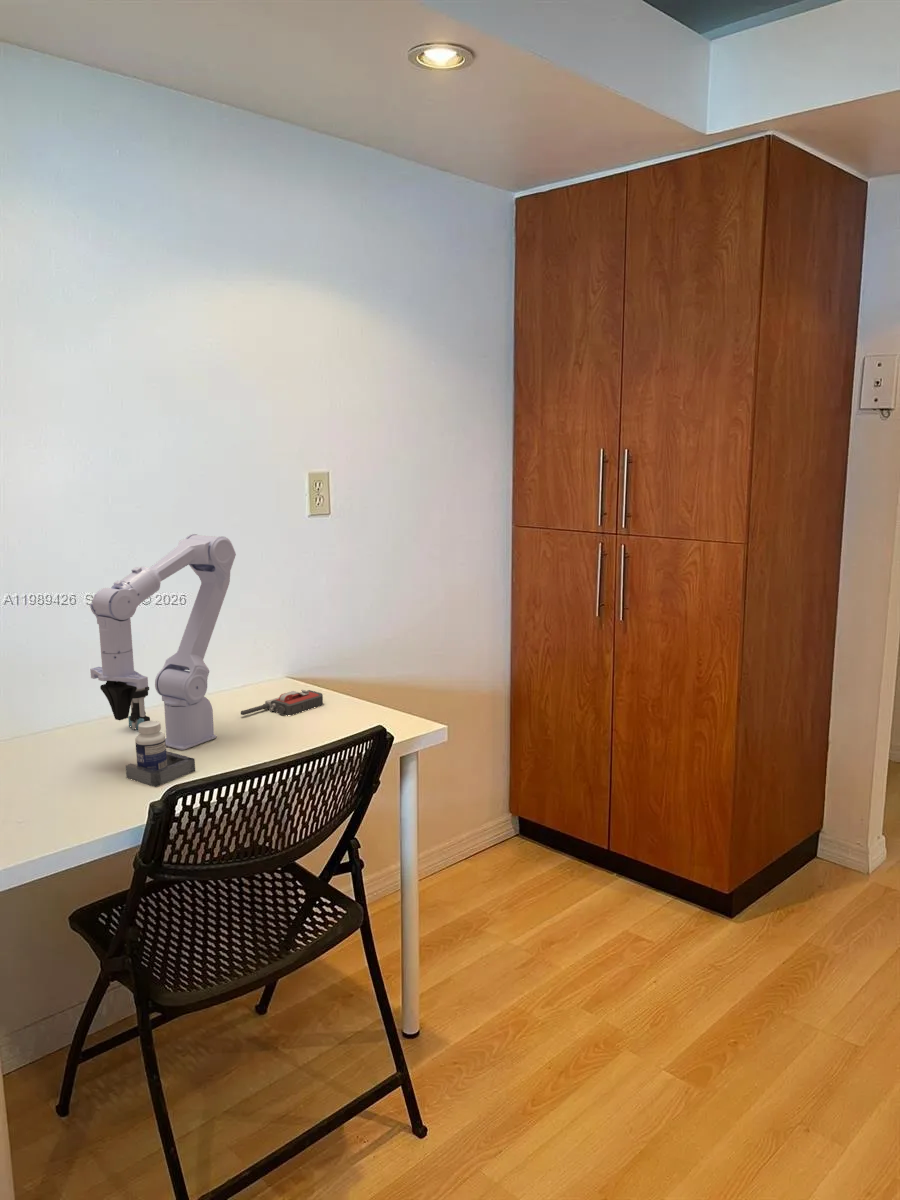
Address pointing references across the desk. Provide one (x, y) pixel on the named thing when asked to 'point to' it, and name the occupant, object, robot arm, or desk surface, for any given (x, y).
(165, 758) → the pill bottle
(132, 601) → the robot arm
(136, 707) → the push button
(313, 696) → the walkie-talkie
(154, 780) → the docking socket
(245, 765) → the desk surface
